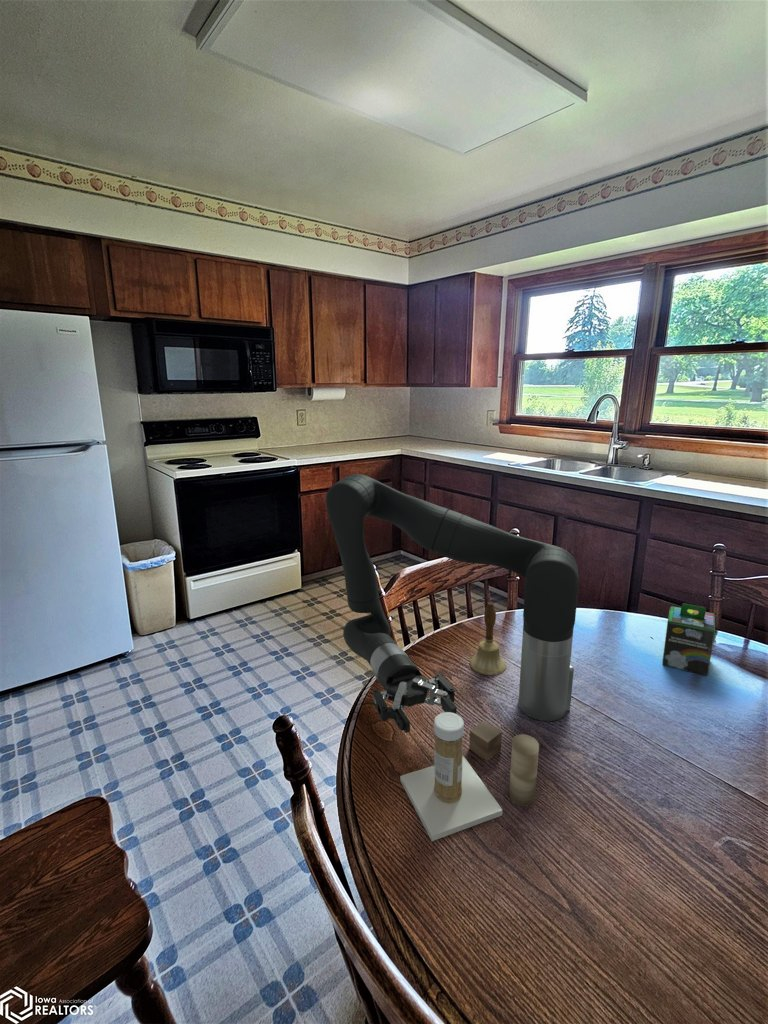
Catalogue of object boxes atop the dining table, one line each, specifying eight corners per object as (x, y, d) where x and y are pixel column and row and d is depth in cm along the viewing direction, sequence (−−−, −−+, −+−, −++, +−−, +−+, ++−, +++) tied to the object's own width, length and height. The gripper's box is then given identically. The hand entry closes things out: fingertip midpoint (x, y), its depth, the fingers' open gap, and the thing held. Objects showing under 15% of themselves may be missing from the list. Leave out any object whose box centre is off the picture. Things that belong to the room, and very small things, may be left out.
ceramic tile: (463, 760, 87) (463, 756, 87) (502, 815, 76) (502, 810, 76) (400, 780, 83) (400, 775, 83) (431, 841, 72) (431, 835, 72)
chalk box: (708, 657, 117) (718, 600, 113) (708, 677, 109) (719, 616, 105) (663, 647, 121) (672, 591, 118) (660, 665, 114) (669, 606, 110)
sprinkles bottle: (468, 794, 79) (470, 722, 75) (446, 808, 76) (447, 735, 73) (449, 776, 82) (450, 707, 79) (427, 789, 80) (427, 718, 76)
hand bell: (511, 673, 112) (515, 609, 108) (476, 677, 111) (479, 612, 107) (498, 654, 120) (501, 593, 116) (465, 657, 119) (466, 596, 114)
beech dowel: (524, 782, 82) (528, 731, 79) (540, 801, 78) (544, 748, 76) (504, 790, 81) (507, 738, 78) (518, 809, 77) (522, 755, 74)
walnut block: (483, 738, 92) (484, 720, 91) (500, 750, 89) (502, 731, 88) (469, 749, 90) (469, 730, 89) (486, 761, 87) (487, 742, 86)
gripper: (359, 661, 94) (391, 713, 80) (427, 645, 99) (469, 692, 84) (361, 695, 96) (392, 752, 82) (427, 678, 101) (468, 729, 87)
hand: (431, 721), depth 83 cm, fingers open, 8 cm apart
